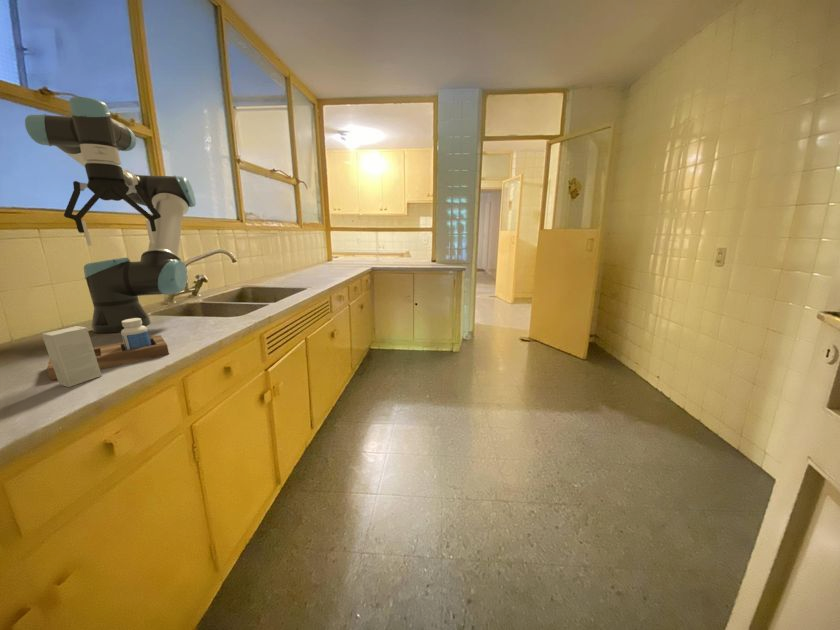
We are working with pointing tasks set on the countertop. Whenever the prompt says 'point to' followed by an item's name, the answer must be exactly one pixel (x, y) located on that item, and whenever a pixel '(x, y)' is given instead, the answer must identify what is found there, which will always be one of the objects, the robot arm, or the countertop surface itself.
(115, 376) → the countertop surface
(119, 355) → the socket block
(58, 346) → the skincare box
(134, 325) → the pill bottle
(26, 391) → the countertop surface
